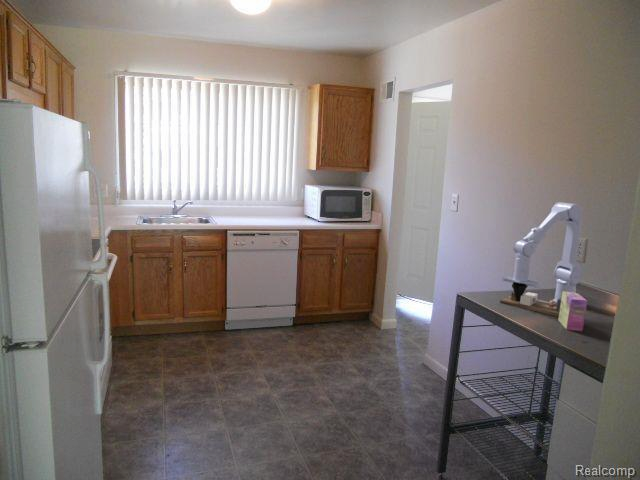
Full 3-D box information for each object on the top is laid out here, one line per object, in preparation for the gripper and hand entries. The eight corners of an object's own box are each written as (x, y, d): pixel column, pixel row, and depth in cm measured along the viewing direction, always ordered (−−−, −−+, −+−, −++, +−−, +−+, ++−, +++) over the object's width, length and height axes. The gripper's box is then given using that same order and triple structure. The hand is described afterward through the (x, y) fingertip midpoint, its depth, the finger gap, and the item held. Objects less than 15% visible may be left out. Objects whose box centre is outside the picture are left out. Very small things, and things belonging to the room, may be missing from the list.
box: (583, 331, 172) (587, 300, 170) (566, 329, 173) (570, 298, 171) (574, 322, 182) (578, 292, 180) (558, 320, 183) (562, 291, 181)
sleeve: (527, 299, 205) (528, 292, 205) (537, 301, 203) (538, 294, 202) (519, 303, 199) (520, 295, 198) (529, 306, 196) (530, 298, 196)
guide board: (509, 297, 212) (510, 288, 211) (573, 312, 195) (574, 301, 194) (499, 302, 204) (500, 292, 203) (565, 318, 186) (566, 307, 186)
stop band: (550, 306, 196) (551, 299, 196) (553, 306, 195) (554, 300, 195) (548, 307, 194) (549, 300, 194) (551, 308, 193) (552, 301, 193)
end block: (559, 309, 195) (560, 297, 194) (566, 310, 193) (568, 299, 192) (556, 311, 192) (557, 299, 191) (564, 312, 190) (565, 300, 189)
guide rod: (515, 296, 205) (515, 294, 205) (562, 307, 193) (562, 304, 192) (514, 297, 204) (514, 294, 204) (561, 307, 192) (561, 305, 191)
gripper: (500, 267, 200) (497, 298, 203) (536, 274, 191) (532, 306, 193) (507, 265, 205) (503, 295, 208) (542, 271, 196) (538, 303, 198)
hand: (518, 300), depth 201 cm, fingers closed
